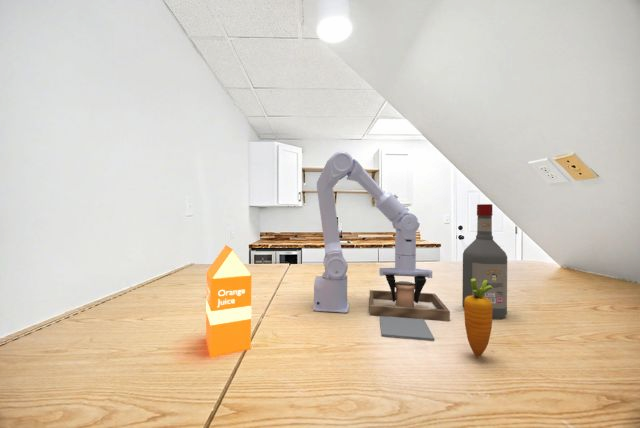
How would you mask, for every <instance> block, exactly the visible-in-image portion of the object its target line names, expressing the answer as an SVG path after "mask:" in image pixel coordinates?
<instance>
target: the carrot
mask: <svg viewBox="0 0 640 428" xmlns="http://www.w3.org/2000/svg"><path fill="white" fill-rule="evenodd" d="M470 282H471V286H472V290H473V293H474V295H472V296H467V297H466V298H465V300H464V308H463V310H464V311H463V312H464V314H463V315H464V325H465V326H464V327H465V332H466V337H467V341H468V343H469V347H470V349H471V350H472V353H473V354H474V356H475V357H476V358H480V357H481V356H482V355H483V354H484V352H485V351H486V349H487V347H488V345H489V343H490V342H489V341H490V338H491V334H492V333H491V332H492V326H493V319H492V312H493V307H492V303H491V301H490V300H489V299H488V298H485V297H483V296H484V294H485V293H486V292H487V291H488V290H489V289H492V286H490V285H489V286H486V284H487V282H488V281H487V280H484V281H483V283H482V286H481V288H480V289H478V286H477V284H476V279H474V278H473V279H471V281H470ZM485 286H486V287H485Z"/></svg>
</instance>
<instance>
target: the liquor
mask: <svg viewBox="0 0 640 428" xmlns="http://www.w3.org/2000/svg"><path fill="white" fill-rule="evenodd" d="M476 216H477V224H476V225H477V226H476V227H477V229H476V230H477V231H476V235H475V238H474V240H473V241H472V242H471V243H470V244H469V245H467V247H466V248H465V249H463V250H464V251H463V253H462V303H461V304H462V309H464V300H465V298H466V297H467V296H472V295H474V293H473V290H472V286H471V282H470V281H471V279H473V278H474V279H476V284H477V286H478V289H480V288H481V286H482V283H483V281H484V280H487V281H488V282H487V284H486V286H489V285H490V286H492V289H489V290H488V291H487V292H486V293H485V294H484V296H483V297H485V298H488V299H489V300H490V301H491V303H492V307H493V312H492V320H503V319H504V318H505V317H506V316H507V314H508V255H507V253H506V252H505V250H504V249H503V248H501V247H500V245H499V244H498V243H497V242H495V240H494V235H493V232H492V231H493V223H492V222H493V219H492V218H493V204H491V203H490V204H488V203H487V204H483V203H480V204H479V203H478V204H476ZM486 286H485V287H486Z"/></svg>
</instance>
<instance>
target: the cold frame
mask: <svg viewBox="0 0 640 428" xmlns="http://www.w3.org/2000/svg"><path fill="white" fill-rule="evenodd" d="M414 294H415V291H414ZM374 300H387V301H393V300H392V293H391V290H377V289H376V290H375V289H369V316H373V317H374V316H376V317H380V316H384V317H398V318H412V319H424V320H429V321H431V320H432V321H444V322H450V321H451V311H450V309H449V308H448V307H447V306H446V305H445V304H444V303H443V301H442V300H441V299H440V297H438V295H437V294H436V293H431V292H421V293H420V296H419V300H418V303H419V302H420V303H432V304H433V306H434V307H435V308H423V307H414V308H412V307H396V305H394V306H393V305H380V304H379V305H378V304H377V305H376V304H375V303H374ZM395 301H396V290H395Z"/></svg>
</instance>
